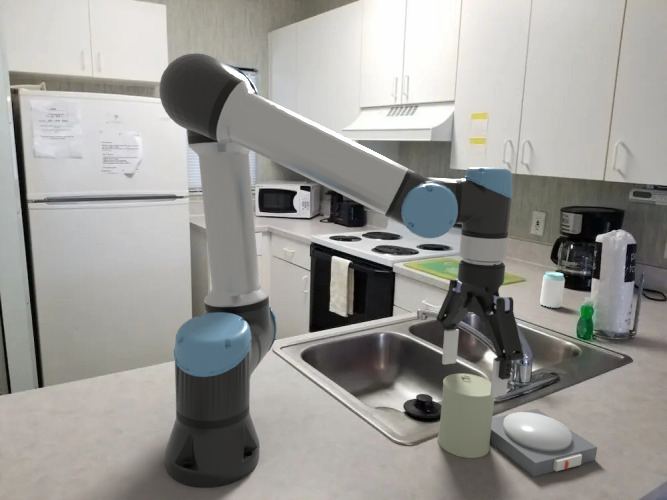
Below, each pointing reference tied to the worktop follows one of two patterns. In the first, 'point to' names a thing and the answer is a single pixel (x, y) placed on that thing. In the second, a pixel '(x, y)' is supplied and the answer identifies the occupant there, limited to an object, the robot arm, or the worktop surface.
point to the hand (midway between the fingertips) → (472, 378)
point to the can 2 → (552, 289)
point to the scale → (539, 442)
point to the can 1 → (466, 415)
